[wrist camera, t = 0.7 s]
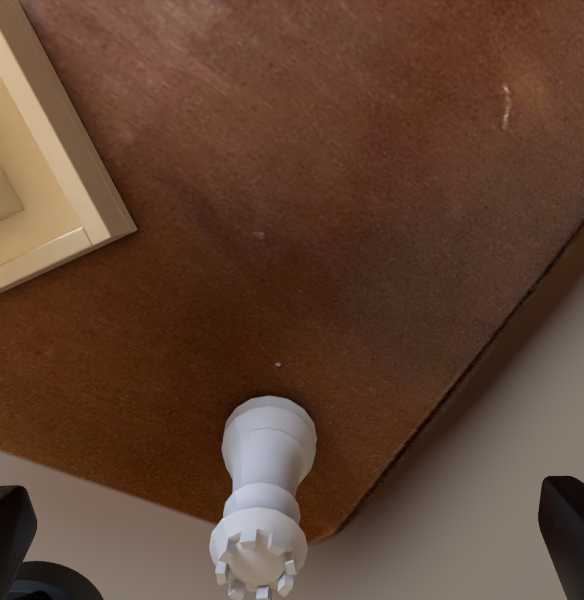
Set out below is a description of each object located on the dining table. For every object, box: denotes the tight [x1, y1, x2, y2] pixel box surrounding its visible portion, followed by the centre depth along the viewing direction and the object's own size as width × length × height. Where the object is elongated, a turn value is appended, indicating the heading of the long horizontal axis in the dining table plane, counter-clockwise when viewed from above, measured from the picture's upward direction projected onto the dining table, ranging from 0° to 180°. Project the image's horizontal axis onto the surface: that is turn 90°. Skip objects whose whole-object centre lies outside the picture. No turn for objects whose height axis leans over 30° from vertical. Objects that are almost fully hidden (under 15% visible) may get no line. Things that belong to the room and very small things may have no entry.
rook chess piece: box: [209, 396, 317, 600], centre depth 17 cm, size 4×4×8 cm
